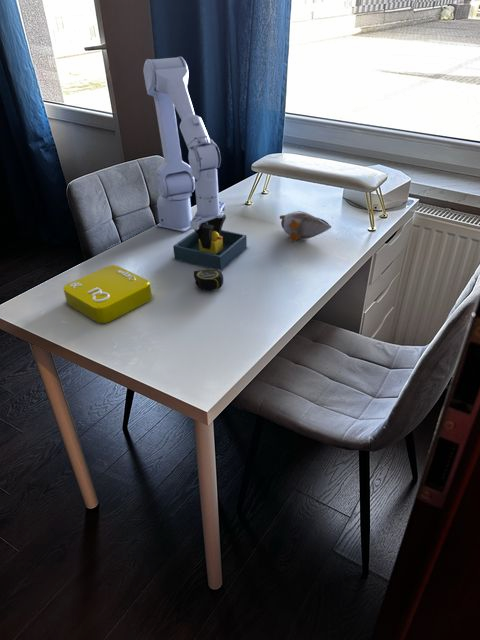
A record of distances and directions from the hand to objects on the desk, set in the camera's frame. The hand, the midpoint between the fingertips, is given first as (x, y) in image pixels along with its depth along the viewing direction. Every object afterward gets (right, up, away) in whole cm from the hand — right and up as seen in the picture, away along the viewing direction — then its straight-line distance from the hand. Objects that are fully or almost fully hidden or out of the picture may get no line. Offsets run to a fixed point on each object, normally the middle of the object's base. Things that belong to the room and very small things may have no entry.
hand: (210, 244), depth 135 cm
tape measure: (0, -13, -12) cm, 17 cm away
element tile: (-22, -17, -17) cm, 32 cm away
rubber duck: (0, -1, +1) cm, 1 cm away
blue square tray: (0, -2, +2) cm, 3 cm away
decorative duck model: (+26, +5, +11) cm, 29 cm away
